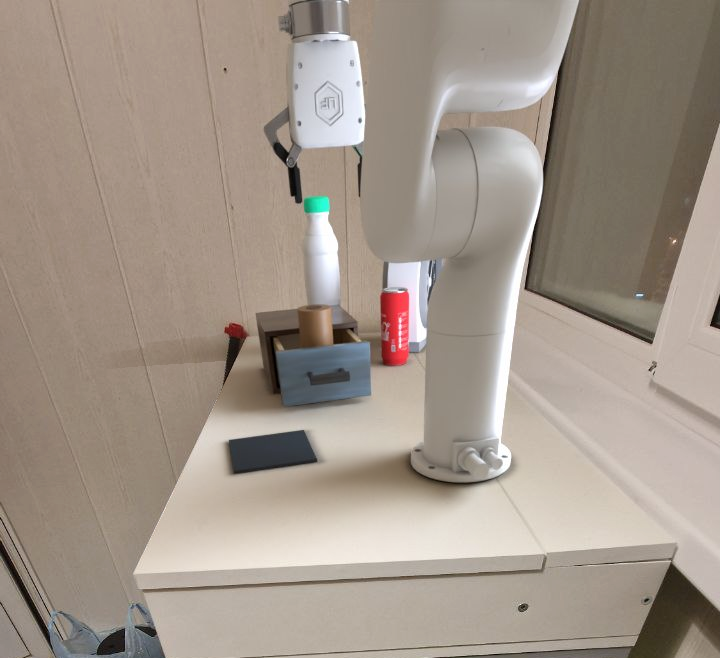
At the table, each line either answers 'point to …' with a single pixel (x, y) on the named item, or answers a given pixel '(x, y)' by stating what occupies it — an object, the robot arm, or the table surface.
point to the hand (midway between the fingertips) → (331, 200)
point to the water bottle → (320, 254)
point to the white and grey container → (414, 293)
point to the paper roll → (315, 325)
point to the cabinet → (288, 324)
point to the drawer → (322, 368)
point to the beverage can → (394, 325)
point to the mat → (271, 451)
